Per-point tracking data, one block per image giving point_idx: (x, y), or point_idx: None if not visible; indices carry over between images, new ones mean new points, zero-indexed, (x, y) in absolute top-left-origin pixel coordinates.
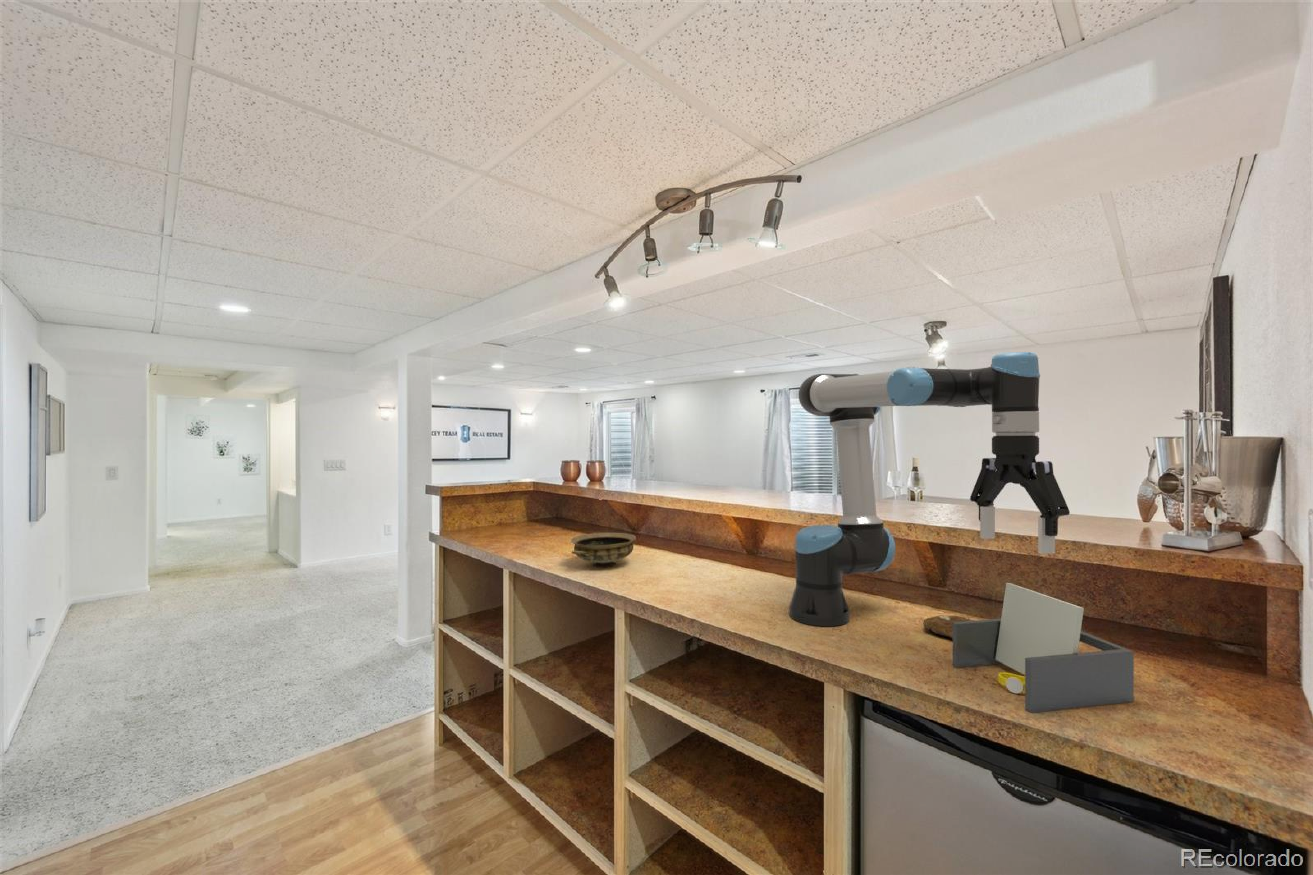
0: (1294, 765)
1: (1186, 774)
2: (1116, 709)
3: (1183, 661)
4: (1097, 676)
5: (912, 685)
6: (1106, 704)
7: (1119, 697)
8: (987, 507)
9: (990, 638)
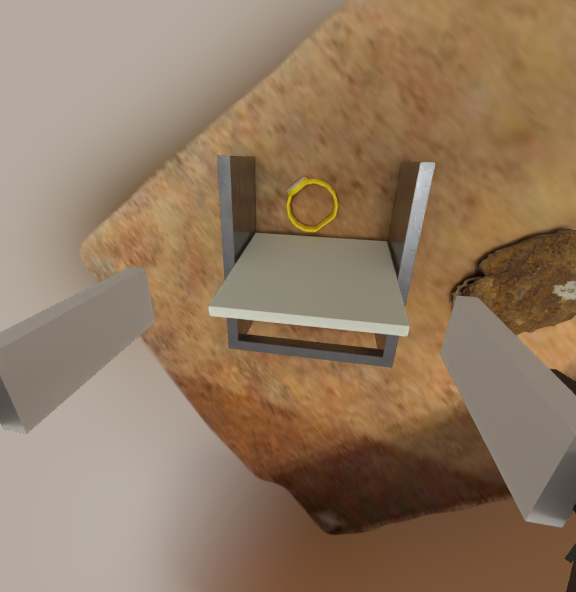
0: None
1: (118, 212)
2: None
3: (317, 454)
4: None
5: (372, 2)
6: None
7: None
8: (550, 464)
9: (396, 243)
